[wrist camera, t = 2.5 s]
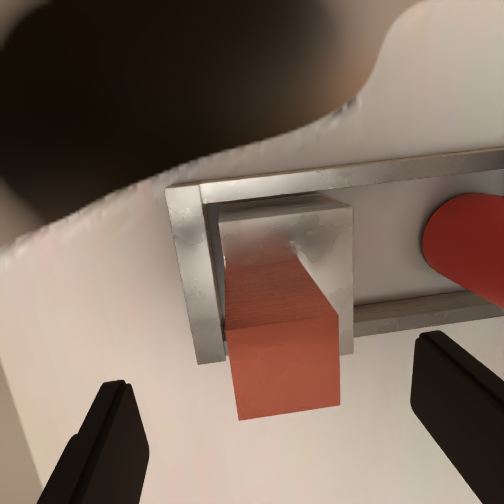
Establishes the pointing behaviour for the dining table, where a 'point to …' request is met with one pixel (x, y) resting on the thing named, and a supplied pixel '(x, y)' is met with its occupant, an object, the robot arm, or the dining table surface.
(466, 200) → the beer can
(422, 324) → the press frame
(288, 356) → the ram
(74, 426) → the dining table surface
